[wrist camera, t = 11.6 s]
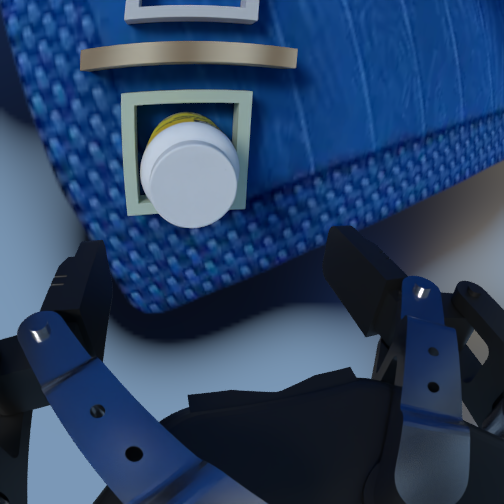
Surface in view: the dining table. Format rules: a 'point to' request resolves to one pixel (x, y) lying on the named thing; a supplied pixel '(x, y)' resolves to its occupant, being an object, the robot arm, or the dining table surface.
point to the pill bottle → (190, 170)
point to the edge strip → (187, 55)
